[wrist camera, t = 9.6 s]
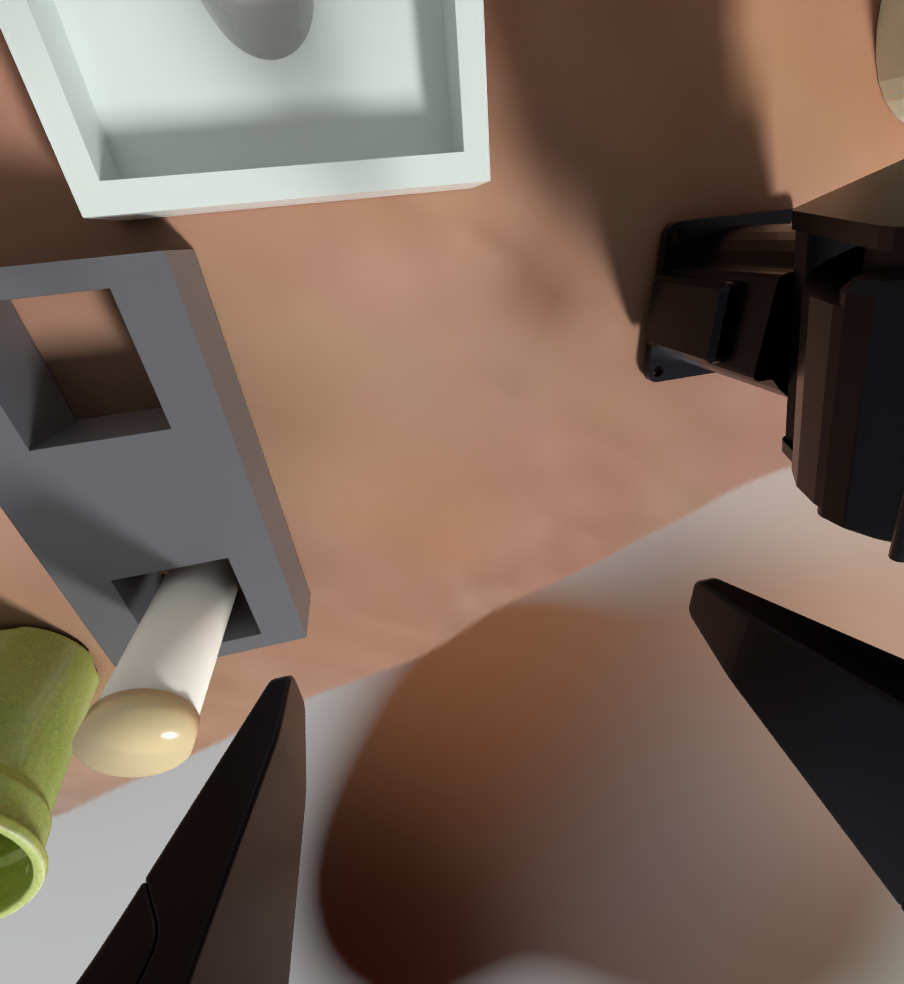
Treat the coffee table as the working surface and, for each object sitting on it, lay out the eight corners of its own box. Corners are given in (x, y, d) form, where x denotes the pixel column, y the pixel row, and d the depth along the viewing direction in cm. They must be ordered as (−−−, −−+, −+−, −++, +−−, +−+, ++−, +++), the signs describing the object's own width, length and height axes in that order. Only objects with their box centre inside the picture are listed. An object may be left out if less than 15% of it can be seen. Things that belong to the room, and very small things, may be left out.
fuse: (233, 531, 21) (168, 700, 13) (255, 583, 22) (208, 761, 15) (160, 545, 20) (49, 728, 13) (187, 596, 22) (103, 787, 14)
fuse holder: (193, 248, 15) (164, 250, 13) (310, 594, 23) (306, 637, 21) (-70, 275, 14) (-159, 283, 12) (148, 628, 22) (123, 678, 20)
